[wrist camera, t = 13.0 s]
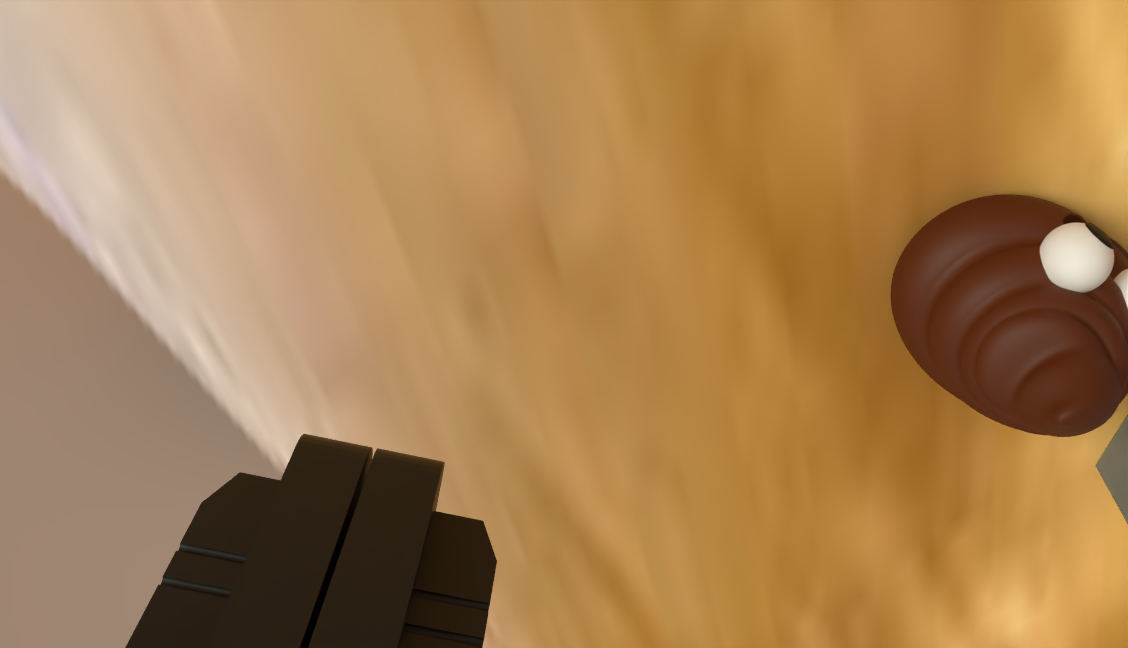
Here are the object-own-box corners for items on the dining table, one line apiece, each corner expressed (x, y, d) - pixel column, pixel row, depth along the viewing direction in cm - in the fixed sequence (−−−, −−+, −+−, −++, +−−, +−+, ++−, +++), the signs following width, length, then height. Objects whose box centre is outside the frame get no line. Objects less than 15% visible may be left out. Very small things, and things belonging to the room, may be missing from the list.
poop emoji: (839, 297, 43) (883, 442, 35) (997, 134, 39) (1086, 256, 31) (1020, 414, 45) (1098, 574, 37) (1185, 272, 41) (1312, 418, 33)
